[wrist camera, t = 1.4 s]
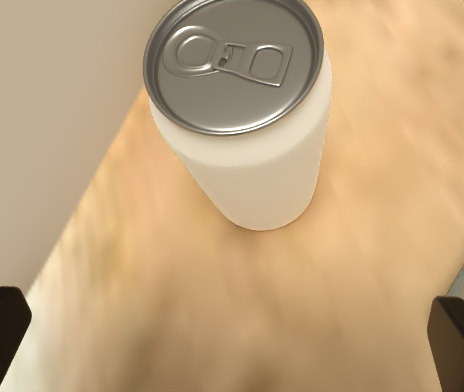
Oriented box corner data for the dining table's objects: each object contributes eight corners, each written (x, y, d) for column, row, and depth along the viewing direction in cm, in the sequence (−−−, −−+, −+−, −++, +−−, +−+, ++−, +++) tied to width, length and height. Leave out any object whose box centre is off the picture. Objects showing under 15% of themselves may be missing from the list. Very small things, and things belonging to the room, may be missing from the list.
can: (229, 124, 24) (171, -41, 12) (327, 146, 22) (362, -21, 11) (197, 216, 22) (97, 122, 11) (300, 246, 21) (306, 173, 9)
